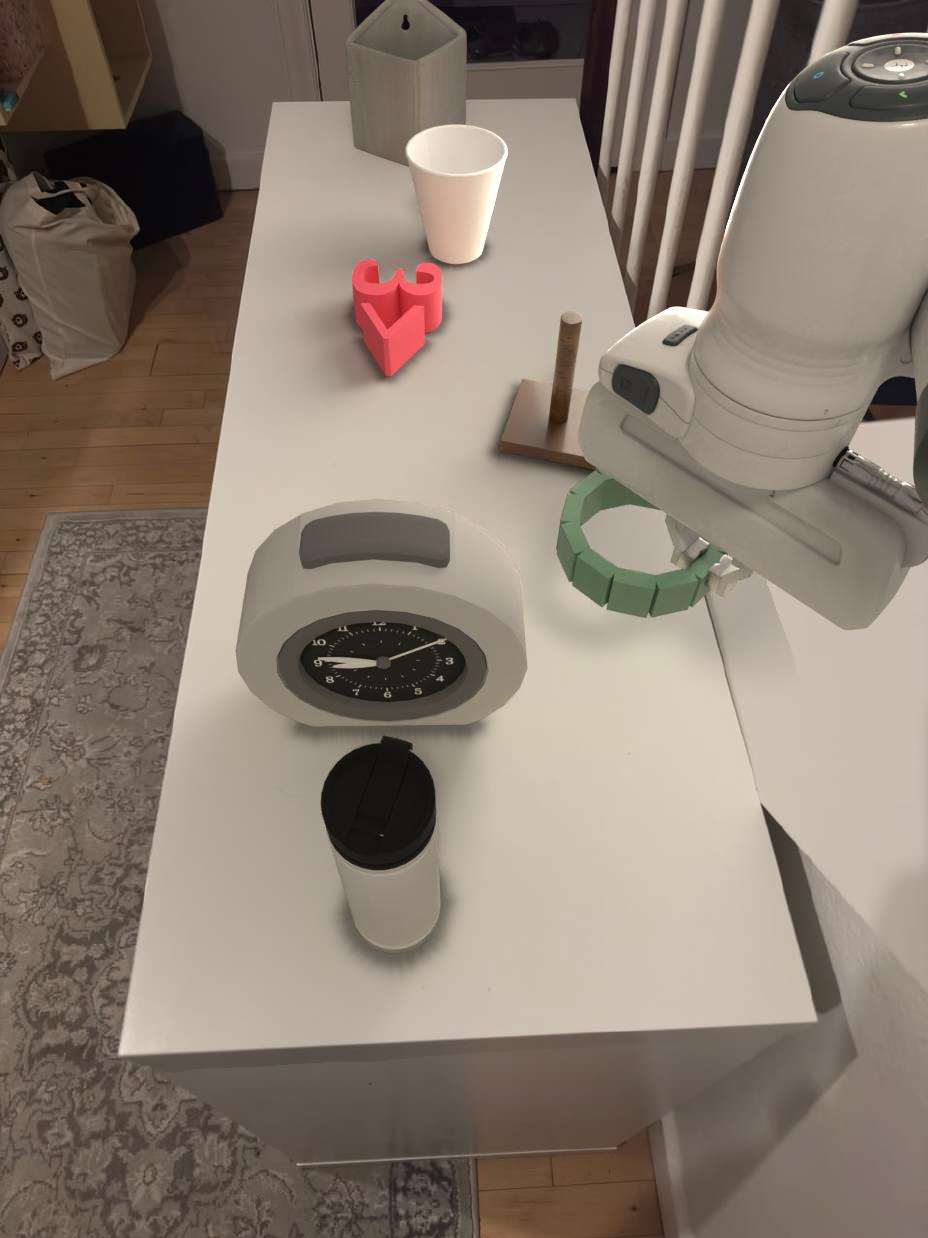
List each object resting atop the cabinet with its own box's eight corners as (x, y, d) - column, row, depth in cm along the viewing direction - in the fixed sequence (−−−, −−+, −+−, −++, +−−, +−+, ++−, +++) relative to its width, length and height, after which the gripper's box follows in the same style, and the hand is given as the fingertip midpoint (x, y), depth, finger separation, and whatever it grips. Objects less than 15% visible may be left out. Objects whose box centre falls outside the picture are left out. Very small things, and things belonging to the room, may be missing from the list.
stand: (612, 406, 93) (633, 295, 82) (595, 470, 88) (616, 360, 77) (521, 389, 95) (530, 277, 84) (499, 451, 89) (506, 340, 78)
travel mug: (452, 875, 64) (453, 750, 47) (424, 966, 60) (414, 864, 44) (372, 851, 65) (345, 721, 48) (340, 939, 61) (299, 830, 45)
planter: (360, 173, 121) (346, 13, 105) (353, 145, 125) (339, -13, 109) (475, 163, 123) (479, 4, 107) (464, 135, 127) (466, -21, 111)
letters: (432, 379, 96) (431, 340, 92) (341, 373, 96) (336, 335, 92) (444, 301, 104) (444, 263, 100) (359, 296, 104) (356, 258, 100)
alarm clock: (258, 727, 71) (200, 576, 54) (268, 650, 75) (217, 489, 59) (520, 723, 71) (540, 573, 55) (515, 647, 75) (532, 486, 59)
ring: (725, 510, 61) (736, 479, 59) (711, 632, 55) (722, 603, 53) (573, 481, 63) (578, 450, 60) (543, 596, 57) (547, 567, 54)
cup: (451, 287, 105) (450, 186, 95) (390, 245, 111) (384, 145, 100) (522, 251, 110) (529, 151, 100) (460, 212, 115) (461, 113, 105)
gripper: (989, 479, 41) (873, 641, 53) (647, 294, 50) (610, 468, 61) (926, 551, 39) (818, 705, 50) (576, 343, 47) (551, 516, 58)
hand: (702, 574), depth 56 cm, fingers closed on ring
